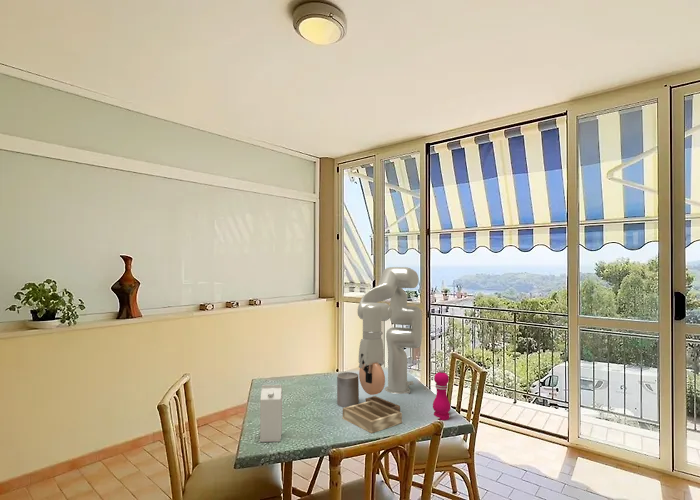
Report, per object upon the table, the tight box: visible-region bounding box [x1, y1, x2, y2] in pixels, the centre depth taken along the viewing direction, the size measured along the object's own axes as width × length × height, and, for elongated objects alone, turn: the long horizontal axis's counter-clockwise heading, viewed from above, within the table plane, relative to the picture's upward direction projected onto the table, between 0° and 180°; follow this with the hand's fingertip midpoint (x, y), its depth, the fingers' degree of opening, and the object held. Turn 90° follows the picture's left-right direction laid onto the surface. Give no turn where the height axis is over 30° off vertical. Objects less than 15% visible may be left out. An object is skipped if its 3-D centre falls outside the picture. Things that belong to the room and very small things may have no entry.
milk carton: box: [259, 384, 283, 443], centre depth 146 cm, size 7×7×19 cm
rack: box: [342, 400, 403, 434], centre depth 159 cm, size 16×18×5 cm
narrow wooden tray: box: [365, 395, 401, 412], centre depth 173 cm, size 6×16×3 cm, turn 38°
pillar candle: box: [336, 371, 360, 408], centre depth 178 cm, size 10×10×15 cm
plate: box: [358, 362, 386, 396], centre depth 159 cm, size 2×13×13 cm, turn 38°
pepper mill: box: [432, 368, 451, 421], centre depth 166 cm, size 7×7×20 cm
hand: (371, 381), depth 159 cm, fingers closed on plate, 2 cm apart
